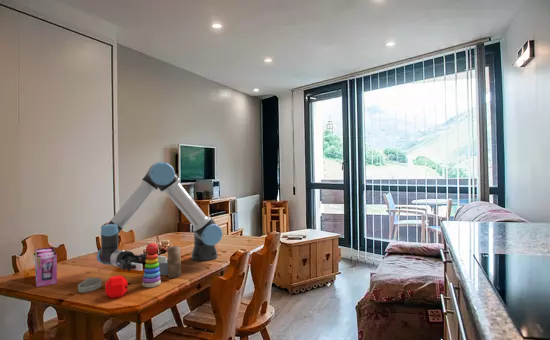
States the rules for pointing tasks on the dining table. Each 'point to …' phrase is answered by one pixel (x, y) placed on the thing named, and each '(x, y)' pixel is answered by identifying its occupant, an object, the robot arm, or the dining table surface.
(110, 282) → the ball
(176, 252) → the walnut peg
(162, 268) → the grey cube
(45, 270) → the gum box
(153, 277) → the stacking toy
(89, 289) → the grey oval piece
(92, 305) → the dining table surface
